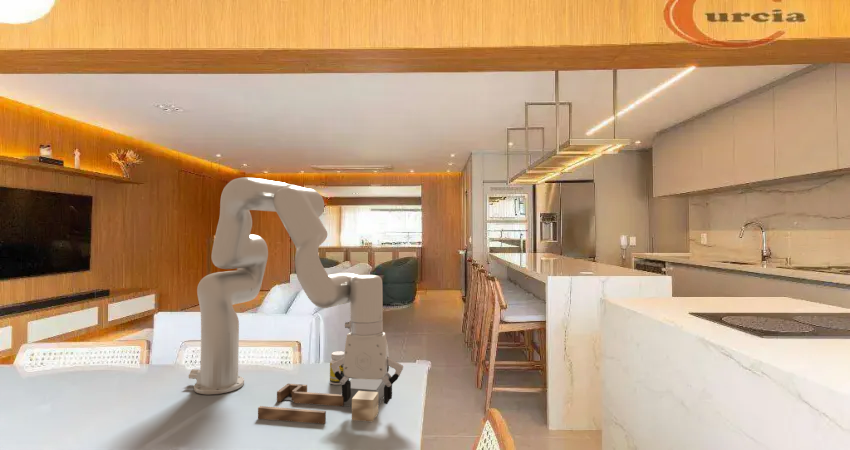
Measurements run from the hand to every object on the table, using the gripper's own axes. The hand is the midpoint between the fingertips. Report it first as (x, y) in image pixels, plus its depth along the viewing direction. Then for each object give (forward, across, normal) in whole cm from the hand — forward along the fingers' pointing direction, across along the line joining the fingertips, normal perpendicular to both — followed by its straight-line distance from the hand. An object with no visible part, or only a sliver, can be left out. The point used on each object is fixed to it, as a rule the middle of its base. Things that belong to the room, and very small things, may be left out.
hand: (367, 400), depth 103 cm
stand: (+4, -4, +10) cm, 11 cm away
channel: (+3, -16, +3) cm, 17 cm away
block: (+4, 0, 0) cm, 4 cm away
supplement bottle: (+4, -14, +21) cm, 25 cm away
